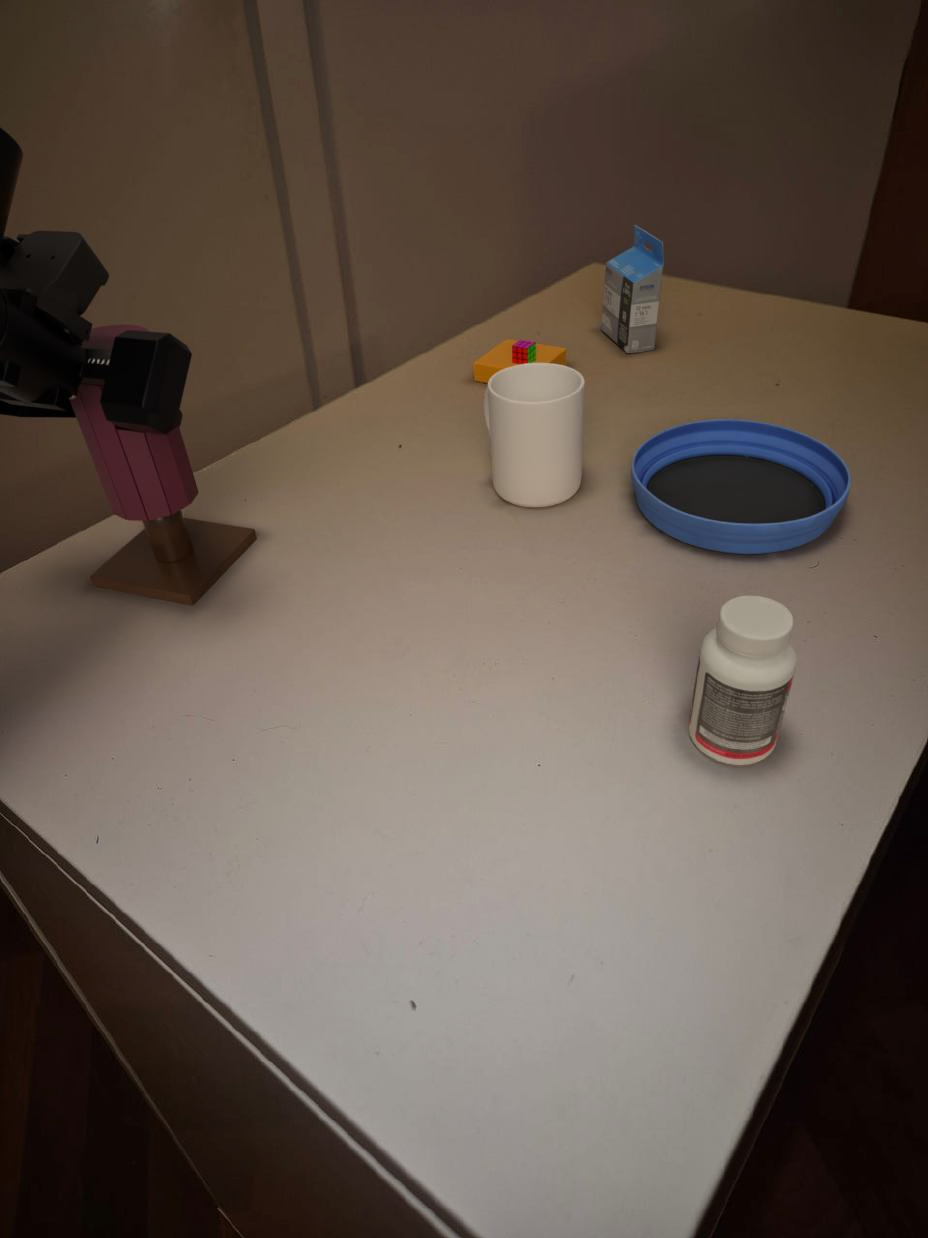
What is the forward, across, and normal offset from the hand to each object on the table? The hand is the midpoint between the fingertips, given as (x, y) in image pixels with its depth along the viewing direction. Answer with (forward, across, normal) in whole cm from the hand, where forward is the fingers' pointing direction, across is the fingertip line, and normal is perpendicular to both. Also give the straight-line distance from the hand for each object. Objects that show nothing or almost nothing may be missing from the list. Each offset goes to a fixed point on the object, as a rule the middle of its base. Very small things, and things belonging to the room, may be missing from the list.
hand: (140, 415), depth 65 cm
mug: (+23, -25, -4) cm, 34 cm away
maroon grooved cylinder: (+4, 0, +6) cm, 7 cm away
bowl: (+23, -44, -5) cm, 50 cm away
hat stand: (+8, 0, +10) cm, 13 cm away
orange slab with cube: (+39, -17, -21) cm, 48 cm away
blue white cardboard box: (+48, -28, -30) cm, 63 cm away
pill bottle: (+4, -47, +15) cm, 49 cm away
